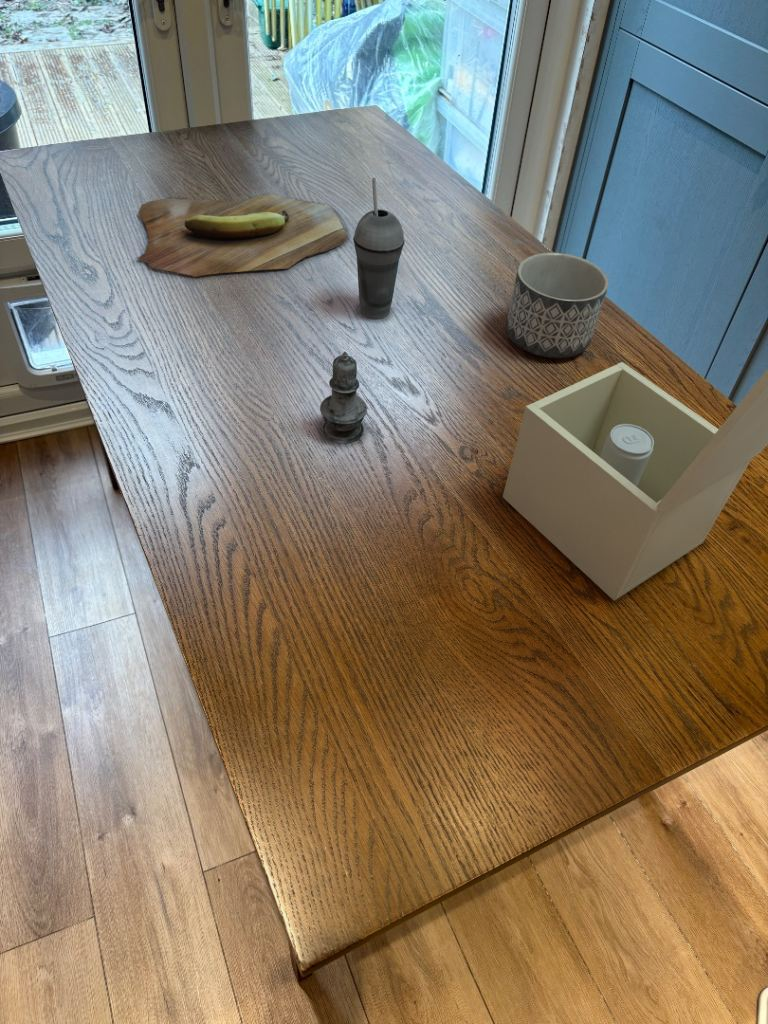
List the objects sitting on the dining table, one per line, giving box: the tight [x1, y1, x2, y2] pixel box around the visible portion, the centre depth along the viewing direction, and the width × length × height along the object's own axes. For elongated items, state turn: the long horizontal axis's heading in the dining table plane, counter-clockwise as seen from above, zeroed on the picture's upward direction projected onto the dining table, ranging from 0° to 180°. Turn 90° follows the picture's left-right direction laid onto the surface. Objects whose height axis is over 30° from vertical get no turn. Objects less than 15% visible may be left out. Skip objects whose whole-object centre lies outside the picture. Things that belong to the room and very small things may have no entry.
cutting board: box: [136, 194, 347, 278], centre depth 126 cm, size 35×27×4 cm
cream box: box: [502, 361, 753, 601], centre depth 82 cm, size 18×15×14 cm
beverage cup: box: [352, 177, 406, 320], centre depth 107 cm, size 7×7×20 cm
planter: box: [505, 252, 610, 359], centre depth 108 cm, size 13×13×10 cm
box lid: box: [657, 368, 768, 512], centre depth 65 cm, size 19×15×1 cm
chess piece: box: [319, 351, 368, 445], centre depth 91 cm, size 6×6×12 cm
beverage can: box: [600, 424, 654, 487], centre depth 82 cm, size 5×5×12 cm
